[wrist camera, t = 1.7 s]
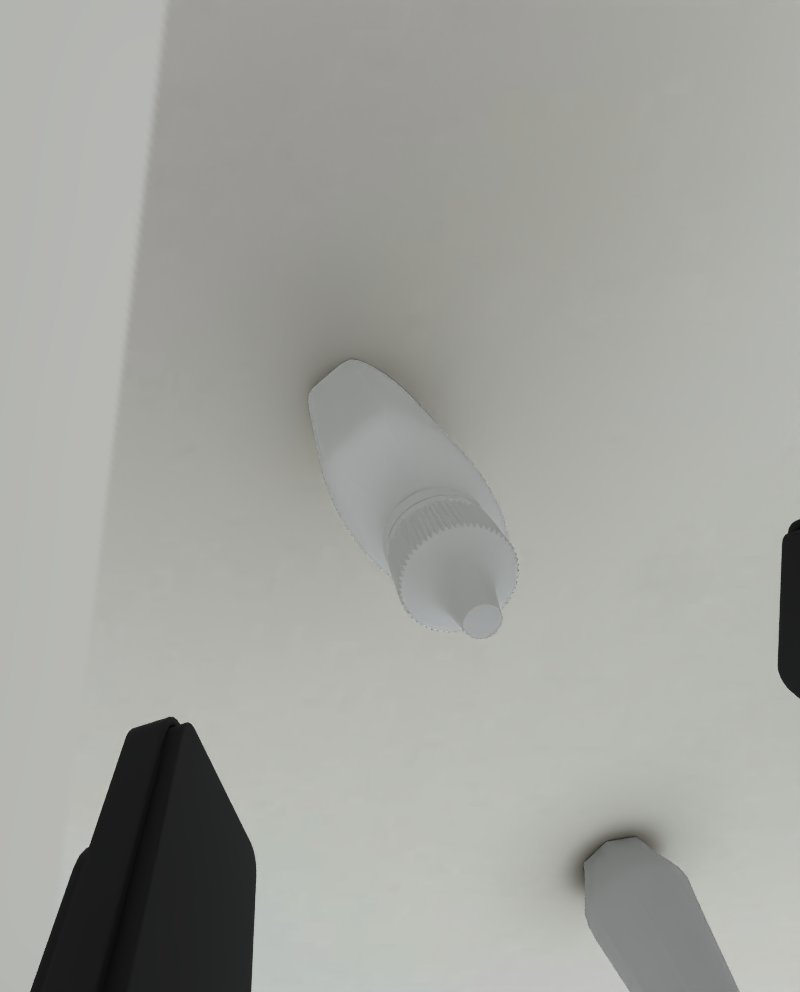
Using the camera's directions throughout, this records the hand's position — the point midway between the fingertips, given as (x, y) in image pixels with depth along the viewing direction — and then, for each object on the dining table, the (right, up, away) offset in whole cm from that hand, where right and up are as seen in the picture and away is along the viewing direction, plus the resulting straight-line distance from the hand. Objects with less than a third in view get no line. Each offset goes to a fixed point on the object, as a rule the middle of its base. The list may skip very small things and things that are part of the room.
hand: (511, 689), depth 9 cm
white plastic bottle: (-2, +5, +12) cm, 14 cm away
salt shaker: (+10, -18, +24) cm, 32 cm away
